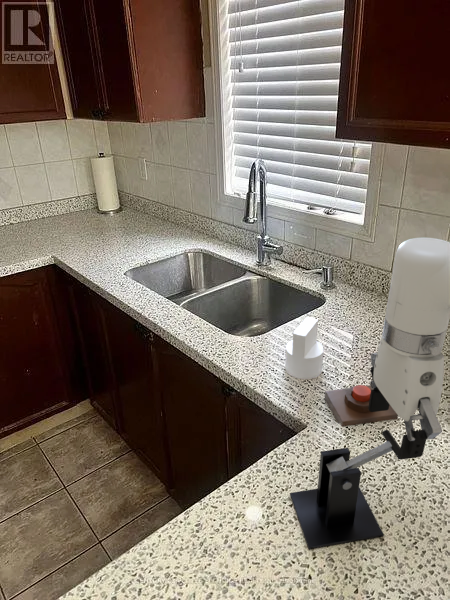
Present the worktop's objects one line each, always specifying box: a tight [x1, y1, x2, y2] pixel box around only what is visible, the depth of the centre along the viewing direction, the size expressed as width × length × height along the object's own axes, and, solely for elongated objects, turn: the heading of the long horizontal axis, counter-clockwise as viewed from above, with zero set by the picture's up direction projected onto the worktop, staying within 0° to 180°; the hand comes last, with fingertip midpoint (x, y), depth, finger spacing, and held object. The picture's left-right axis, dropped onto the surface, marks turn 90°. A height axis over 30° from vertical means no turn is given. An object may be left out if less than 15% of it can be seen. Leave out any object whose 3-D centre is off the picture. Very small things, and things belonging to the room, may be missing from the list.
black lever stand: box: [289, 447, 385, 551], centre depth 70 cm, size 12×10×13 cm
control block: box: [324, 384, 399, 427], centre depth 95 cm, size 12×10×4 cm
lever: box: [326, 429, 402, 472], centre depth 68 cm, size 11×5×2 cm, turn 98°
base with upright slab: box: [284, 316, 325, 380], centre depth 107 cm, size 9×9×12 cm
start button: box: [352, 384, 371, 402], centre depth 94 cm, size 4×4×2 cm
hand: (393, 431), depth 66 cm, fingers open, 9 cm apart
